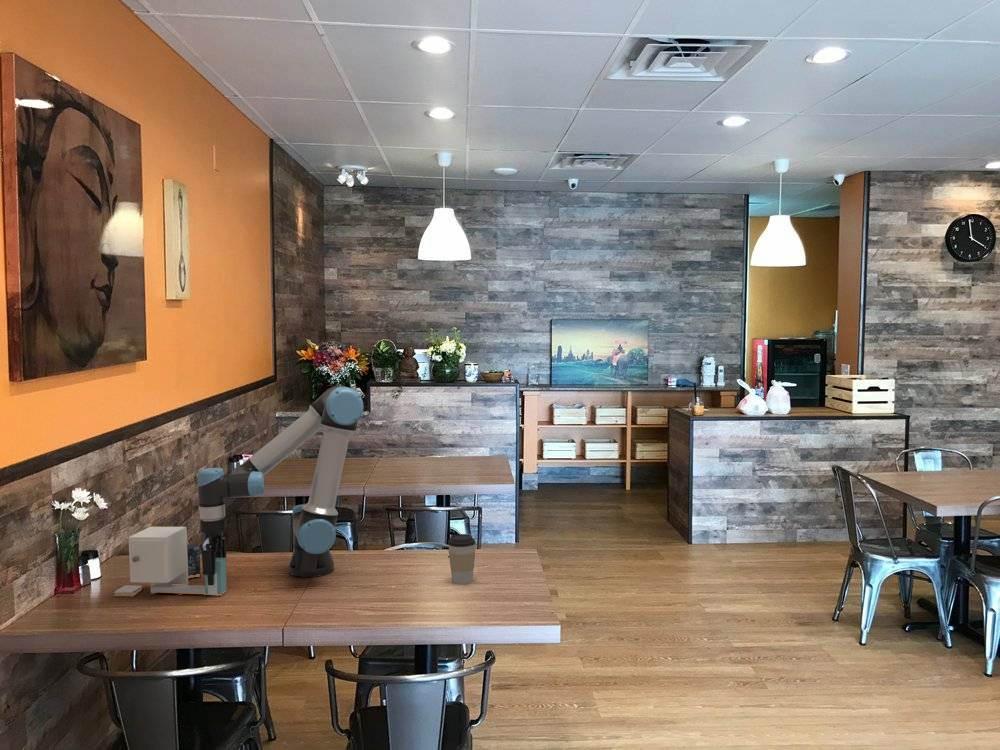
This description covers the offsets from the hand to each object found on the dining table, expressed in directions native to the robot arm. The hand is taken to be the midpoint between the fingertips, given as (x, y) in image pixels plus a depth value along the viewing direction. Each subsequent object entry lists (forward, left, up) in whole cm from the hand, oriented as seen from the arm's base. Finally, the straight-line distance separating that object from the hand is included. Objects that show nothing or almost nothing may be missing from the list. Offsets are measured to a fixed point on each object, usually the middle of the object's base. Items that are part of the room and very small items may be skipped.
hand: (216, 592), depth 244 cm
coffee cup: (-76, -16, -1) cm, 77 cm away
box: (+17, -16, -1) cm, 24 cm away
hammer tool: (+9, 0, 0) cm, 9 cm away
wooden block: (+28, 0, -1) cm, 28 cm away
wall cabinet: (+18, -1, -1) cm, 18 cm away
